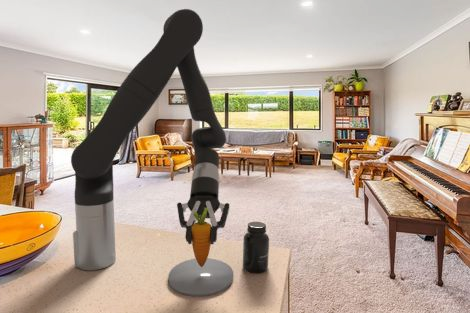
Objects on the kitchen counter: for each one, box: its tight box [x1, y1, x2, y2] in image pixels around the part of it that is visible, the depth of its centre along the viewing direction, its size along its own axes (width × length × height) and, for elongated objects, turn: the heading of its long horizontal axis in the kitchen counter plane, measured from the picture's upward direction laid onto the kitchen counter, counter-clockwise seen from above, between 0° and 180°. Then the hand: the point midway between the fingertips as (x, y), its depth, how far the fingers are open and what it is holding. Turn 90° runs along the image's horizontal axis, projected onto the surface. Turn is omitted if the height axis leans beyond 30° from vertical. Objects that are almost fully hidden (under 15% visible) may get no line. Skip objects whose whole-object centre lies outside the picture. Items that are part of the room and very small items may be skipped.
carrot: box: [191, 208, 212, 267], centre depth 71 cm, size 5×5×15 cm
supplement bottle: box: [242, 221, 270, 274], centre depth 76 cm, size 7×7×12 cm
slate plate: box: [168, 257, 234, 297], centre depth 72 cm, size 16×16×1 cm
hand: (200, 242), depth 69 cm, fingers closed on carrot, 4 cm apart
